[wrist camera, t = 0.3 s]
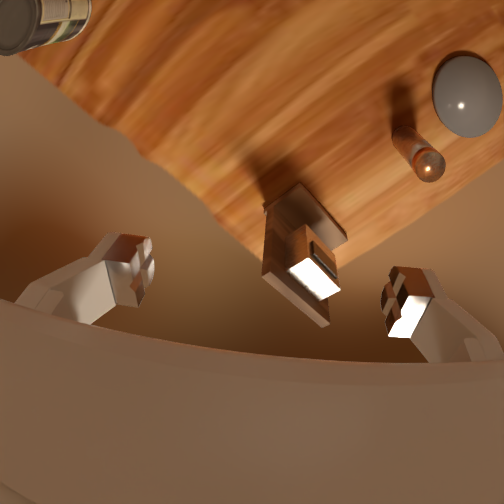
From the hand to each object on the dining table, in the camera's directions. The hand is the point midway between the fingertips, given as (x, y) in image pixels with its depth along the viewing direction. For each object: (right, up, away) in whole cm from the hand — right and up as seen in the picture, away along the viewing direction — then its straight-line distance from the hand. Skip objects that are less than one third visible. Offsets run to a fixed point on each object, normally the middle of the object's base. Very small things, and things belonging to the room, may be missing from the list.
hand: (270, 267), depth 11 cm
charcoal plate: (+34, +25, +28) cm, 51 cm away
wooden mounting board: (+9, +6, +46) cm, 48 cm away
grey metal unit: (+9, +2, +41) cm, 42 cm away
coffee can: (-30, +39, +24) cm, 55 cm away
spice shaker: (+24, +19, +34) cm, 46 cm away
